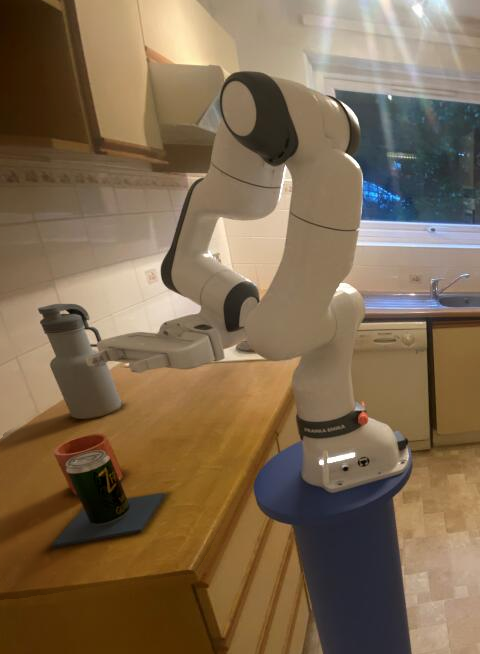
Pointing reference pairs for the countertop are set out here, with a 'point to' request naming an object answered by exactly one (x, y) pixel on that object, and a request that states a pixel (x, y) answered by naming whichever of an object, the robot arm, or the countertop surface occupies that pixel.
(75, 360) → the water bottle
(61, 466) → the terracotta cup
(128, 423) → the countertop surface
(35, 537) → the countertop surface
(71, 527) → the slate mat
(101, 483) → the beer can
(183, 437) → the countertop surface
